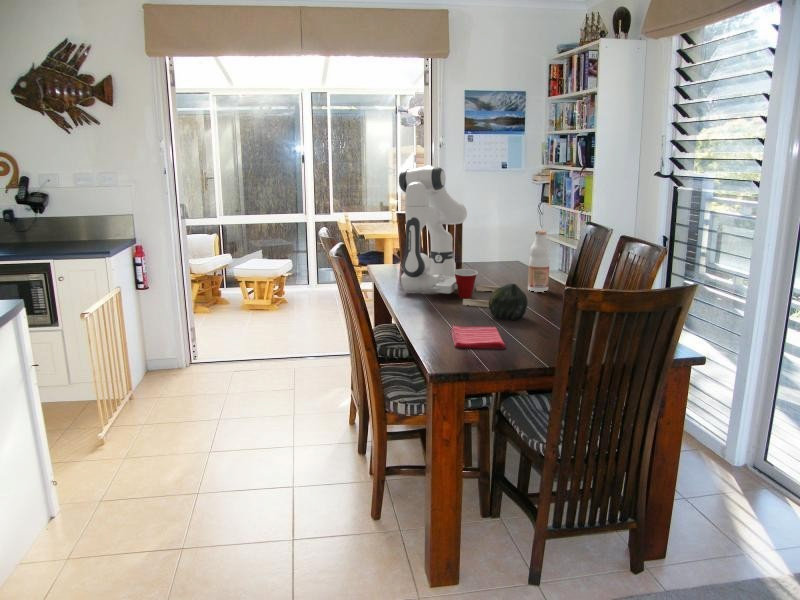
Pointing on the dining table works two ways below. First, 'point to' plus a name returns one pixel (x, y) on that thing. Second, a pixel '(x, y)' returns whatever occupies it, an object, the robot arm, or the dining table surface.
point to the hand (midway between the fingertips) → (465, 286)
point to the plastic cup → (465, 282)
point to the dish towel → (477, 337)
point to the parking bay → (480, 302)
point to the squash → (508, 302)
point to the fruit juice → (539, 264)
